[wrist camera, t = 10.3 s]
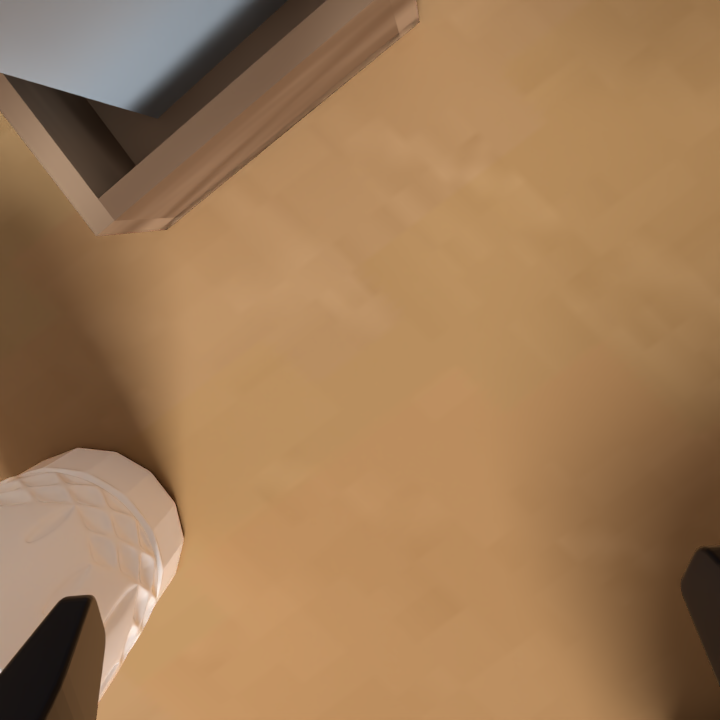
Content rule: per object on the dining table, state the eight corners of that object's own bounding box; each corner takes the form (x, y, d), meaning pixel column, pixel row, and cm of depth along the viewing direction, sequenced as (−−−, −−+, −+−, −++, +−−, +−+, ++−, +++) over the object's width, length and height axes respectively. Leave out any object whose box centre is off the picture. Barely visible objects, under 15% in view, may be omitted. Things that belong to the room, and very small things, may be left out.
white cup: (80, 389, 23) (-175, 520, 14) (240, 529, 24) (102, 749, 14) (-26, 524, 25) (-314, 719, 16) (122, 650, 26) (-68, 913, 16)
